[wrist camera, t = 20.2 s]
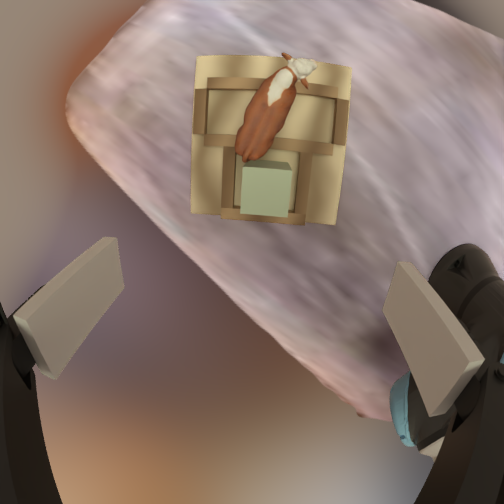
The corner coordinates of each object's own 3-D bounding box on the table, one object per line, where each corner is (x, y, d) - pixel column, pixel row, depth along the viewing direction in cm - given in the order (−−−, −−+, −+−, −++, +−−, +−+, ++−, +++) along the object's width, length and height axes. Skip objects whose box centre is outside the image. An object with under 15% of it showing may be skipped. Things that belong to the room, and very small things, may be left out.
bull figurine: (315, 76, 28) (328, 61, 21) (259, 163, 33) (255, 173, 26) (284, 58, 28) (288, 37, 20) (228, 146, 33) (215, 150, 25)
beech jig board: (349, 69, 29) (354, 65, 27) (333, 222, 38) (337, 228, 36) (198, 58, 30) (193, 53, 28) (192, 211, 39) (187, 216, 37)
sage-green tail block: (288, 162, 35) (292, 170, 27) (284, 199, 37) (287, 217, 29) (248, 159, 35) (242, 166, 27) (246, 196, 37) (240, 213, 30)
